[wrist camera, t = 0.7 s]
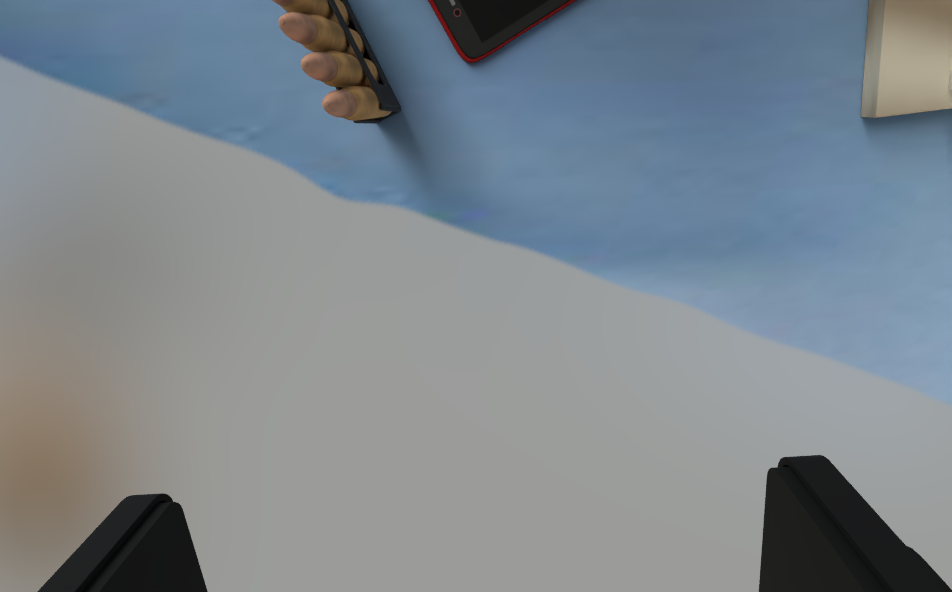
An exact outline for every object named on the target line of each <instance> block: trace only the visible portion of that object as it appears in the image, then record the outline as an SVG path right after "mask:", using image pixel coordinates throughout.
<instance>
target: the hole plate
mask: <svg viewBox="0 0 952 592" xmlns="http://www.w3.org/2000/svg"><path fill="white" fill-rule="evenodd" d="M950 71H952V0H869V8H868V22H867V36H866V50H865V64H864V78H863V92H862V107H861V117H871V118H878V117H886V116H894V115H902V114H910V113H918V112H926V111H934V110H942V109H950V108H952V90H948V84H949V76H950Z"/></svg>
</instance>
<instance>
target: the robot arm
mask: <svg viewBox="0 0 952 592" xmlns="http://www.w3.org/2000/svg"><path fill="white" fill-rule="evenodd" d="M765 499H766V500H765V513H764V528H763V541H762V556H761V570H760V584H759V592H952V590H951V589H950V588H949V587H948V585H947V584H946V583H945V582H944V581H943V580H942V579H941V578H940V577H939V576H938V574H937V573H936V572H935V571H934V570H933V569H932V568H931V567H930V566H929V565H928V563H927V562H926V561H925V560H924V559H923V558H922V557H921V556H920V555H919V554H918V553H917V552H915V551H914V550H913V549H912V548H910V547H908V546H906V545H905V544H904V543H903V542H902V541H901V540H900V539H899V538H898V536H897V535H896V534H895V533H894V532H893V531H892V530H891V529H890V528H889V526H888V525H887V524H886V523H885V522H884V521H883V520H882V519H881V518H880V517H879V515H878V514H877V513H876V512H875V511H874V510H873V509H872V508H871V506H870V505H869V504H868V503H867V502H866V501H865V500H864V499H863V498H862V496H861V495H860V494H859V493H858V492H857V491H856V490H855V489H854V488H853V486H852V485H851V484H850V483H849V482H848V481H847V480H846V479H845V478H844V476H843V475H842V474H841V473H840V472H839V471H838V470H837V469H836V467H835V466H834V465H833V464H832V463H831V462H830V461H829V460H828V459H827V458H826V457H824V456H821V455H814V456H797V457H784V458H782V459H780V461H779V463H778V467H777V468H770V469H769V471H768V474H767V485H766V498H765ZM38 592H207V589H206V585H205V582H204V579H203V575H202V572H201V569H200V565H199V562H198V559H197V555H196V552H195V549H194V546H193V542H192V539H191V535H190V532H189V529H188V526H187V522H186V519H185V516H184V512H183V509H182V507H181V505H180V504H179V503H176V502H173V500H172V498H171V497H170V496H168V495H167V494H147V495H132V496H128V497H126V498H125V499H124V500H122V501H121V502H120V503H119V505H118V506H117V507H116V508H115V509H114V510H113V511H112V512H111V513H110V514H109V515H108V516H107V517H106V519H105V520H104V521H103V522H102V523H101V524H100V525H99V526H98V527H97V528H96V529H95V530H94V531H93V533H92V534H91V535H90V536H89V537H88V538H87V539H86V540H85V541H84V542H83V543H82V544H81V546H80V547H79V548H78V549H77V550H76V551H75V552H74V553H73V554H72V555H71V556H70V557H69V559H67V561H66V562H65V563H64V564H63V565H62V566H61V567H60V568H59V569H58V570H57V572H55V574H54V575H53V576H52V577H51V578H50V579H49V580H48V581H47V582H46V583H45V584H44V585H43V587H41V589H40V590H39V591H38Z"/></svg>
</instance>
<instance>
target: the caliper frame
mask: <svg viewBox="0 0 952 592" xmlns="http://www.w3.org/2000/svg"><path fill="white" fill-rule="evenodd" d="M948 90H952V71H950V76H949V84H948Z"/></svg>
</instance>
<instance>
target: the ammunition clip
mask: <svg viewBox="0 0 952 592" xmlns="http://www.w3.org/2000/svg"><path fill="white" fill-rule="evenodd" d="M272 1H274V2H276V3H277V4H279V5H280V6H281V7H282V8H283V9H284V10H285V11H286V12H288V13H286V14H284V15H282V16H281V17H280V19H279V26H280V28H281V30H282V31H283V33H285V34H286V35H287V36H288V37H289V38H290V39H292V40H294V41H296V42H298V43H301V44H302V45H303V46H304V47H305V48H307V49H309V50H311V51H313V53H310V54H307V55H306V56H305V57H304V58H303V59H302V61H301V67H302V69H303V71H304V72H305V73H306V74H307V75H308V76H310V77H312V78H314V79H316V80H320V81H322V82H324V83H325V84H327V85H329V86H332V87H336V89H337V90H336V91H332V92H330V93H328V94H327V95H326V96H325V97H324V99H323V101H322V105H323V108H324V110H325V111H326V112H327V113H328V114H330V115H332V116H335V117H341V118H345V119H347V120H353V121H354V123H378V122H380V121H382V120H384V119H386V118H388V117H390V116H392V115H394V114H395V113H397V112H399V111H401V106H400V104H399V102H398V100H397V98H396V96H395V94H394V92H393V90H392V89H391V87H390V85H389V83H388V81H387V79H386V77H385V75H384V73H383V71H382V69H381V67H380V65H379V63H378V61H377V59H376V57H375V55H374V53H373V51H372V49H371V47H370V45H369V43H368V41H367V39H366V37H365V35H364V33H363V31H362V29H361V27H360V25H359V23H358V21H357V19H356V17H355V15H354V13H353V11H352V9H351V7H350V5H349V3H348V1H347V0H272Z"/></svg>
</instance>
